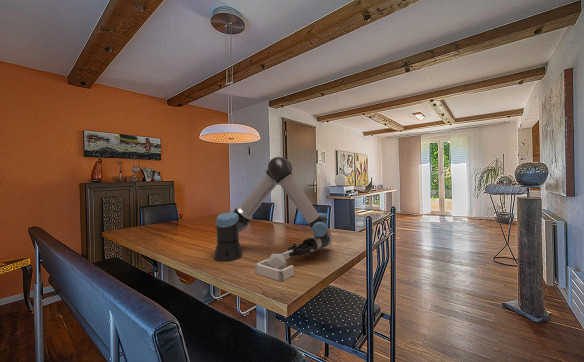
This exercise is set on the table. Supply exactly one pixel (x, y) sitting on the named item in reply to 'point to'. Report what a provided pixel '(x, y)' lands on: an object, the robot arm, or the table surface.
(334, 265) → the table surface
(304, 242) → the robot arm
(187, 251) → the table surface
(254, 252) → the table surface
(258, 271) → the grey u-shaped bracket
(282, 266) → the die
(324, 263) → the table surface
